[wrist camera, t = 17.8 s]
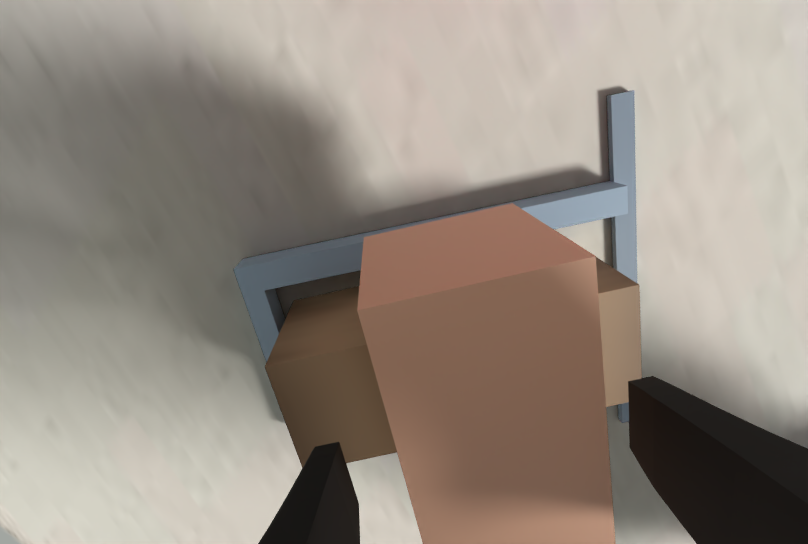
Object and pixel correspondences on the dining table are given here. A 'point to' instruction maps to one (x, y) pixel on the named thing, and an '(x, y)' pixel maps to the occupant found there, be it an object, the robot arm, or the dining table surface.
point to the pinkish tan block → (492, 377)
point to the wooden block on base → (356, 381)
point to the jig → (551, 209)
